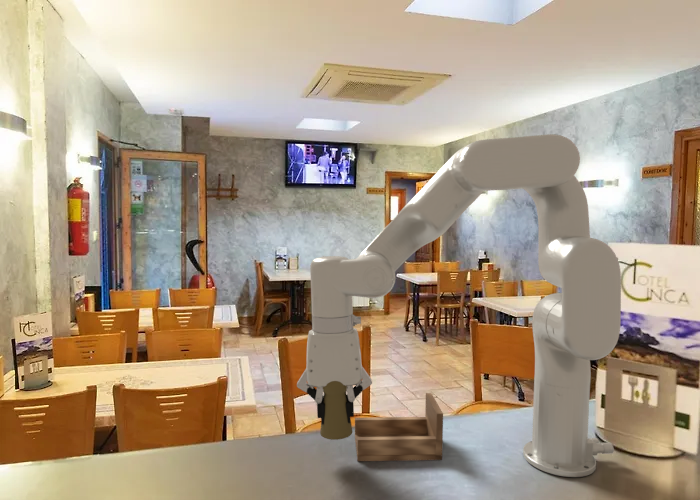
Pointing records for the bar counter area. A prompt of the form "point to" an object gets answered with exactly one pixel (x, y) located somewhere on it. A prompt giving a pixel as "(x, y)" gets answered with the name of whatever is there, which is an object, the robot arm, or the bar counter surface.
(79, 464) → the bar counter surface
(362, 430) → the walnut drawer
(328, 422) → the cork
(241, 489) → the bar counter surface
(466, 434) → the bar counter surface
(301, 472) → the bar counter surface
